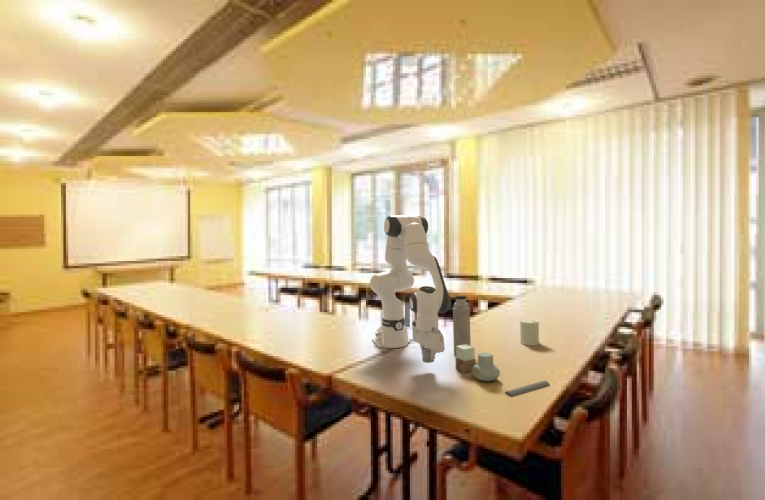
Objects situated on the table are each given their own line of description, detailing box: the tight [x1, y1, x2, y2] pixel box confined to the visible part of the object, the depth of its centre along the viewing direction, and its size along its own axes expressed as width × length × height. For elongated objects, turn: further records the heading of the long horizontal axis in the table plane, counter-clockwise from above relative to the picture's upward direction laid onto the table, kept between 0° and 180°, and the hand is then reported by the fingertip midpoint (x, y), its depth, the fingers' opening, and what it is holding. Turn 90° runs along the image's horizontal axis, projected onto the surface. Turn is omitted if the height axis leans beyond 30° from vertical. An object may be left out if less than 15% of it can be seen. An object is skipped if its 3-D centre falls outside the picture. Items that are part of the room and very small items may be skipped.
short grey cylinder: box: [421, 347, 435, 364], centre depth 176 cm, size 5×5×5 cm
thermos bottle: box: [452, 295, 472, 356], centre depth 197 cm, size 8×8×28 cm
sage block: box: [455, 344, 476, 361], centre depth 176 cm, size 6×6×5 cm
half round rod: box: [504, 380, 551, 397], centre depth 153 cm, size 4×20×2 cm, turn 117°
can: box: [519, 318, 540, 346], centre depth 212 cm, size 9×9×12 cm
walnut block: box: [455, 357, 477, 374], centre depth 176 cm, size 6×6×5 cm
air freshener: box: [471, 352, 501, 382], centre depth 164 cm, size 11×8×10 cm
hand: (428, 356), depth 176 cm, fingers closed on short grey cylinder, 5 cm apart
